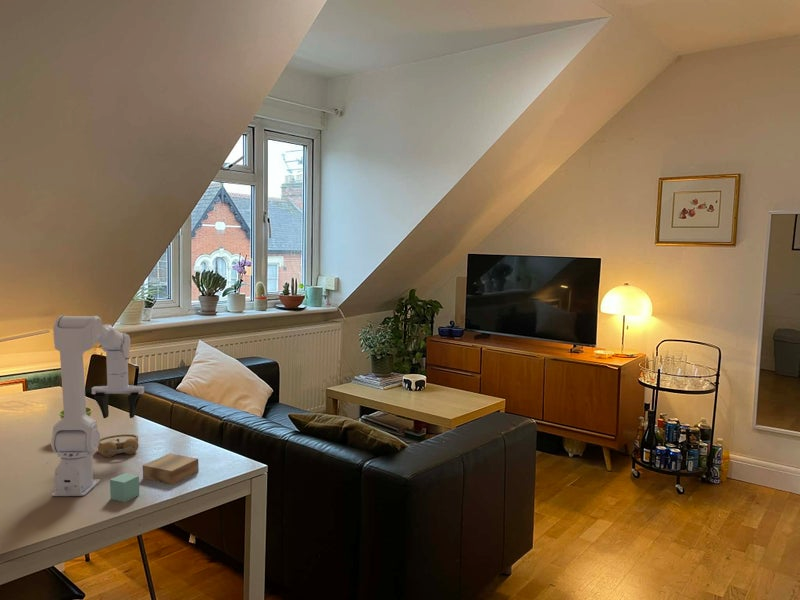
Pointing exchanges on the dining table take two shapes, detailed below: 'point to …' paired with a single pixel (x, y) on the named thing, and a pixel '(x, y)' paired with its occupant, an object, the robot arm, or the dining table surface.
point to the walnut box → (170, 468)
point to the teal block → (124, 487)
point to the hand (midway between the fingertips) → (119, 417)
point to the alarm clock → (118, 445)
